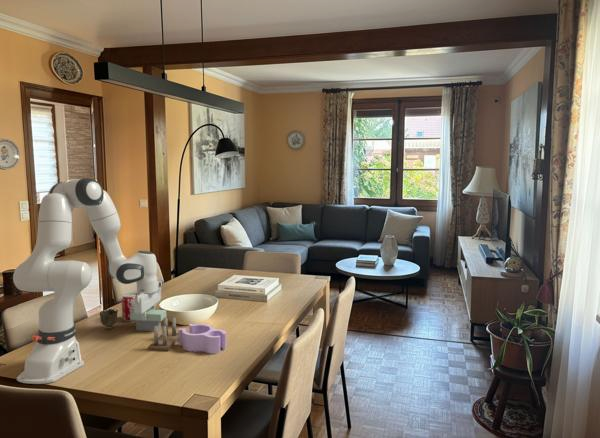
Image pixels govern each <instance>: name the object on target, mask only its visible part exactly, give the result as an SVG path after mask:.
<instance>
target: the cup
mask: <svg viewBox="0 0 600 438" xmlns="http://www.w3.org/2000/svg"><path fill="white" fill-rule="evenodd" d="M99 317H100V322H101V324H102V326H104V329H106V330H112V329H114V326H115V324H116V323H117V321H118V309H114V308H113V309H112V308H109V309H105V310H104V309H103V310H101V311H100V312H99Z"/></svg>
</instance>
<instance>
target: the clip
mask: <svg viewBox="0 0 600 438" xmlns="http://www.w3.org/2000/svg"><path fill="white" fill-rule="evenodd" d="M188 329H189V331H187V328H185V327H182V328H178V330H177V333H178V337H179V340H178V346H182V349H183V350H185V351H188V352H192V351H194V352H197V351H198V352H205V353H206V354H209V353H210V355H218V354H217V353H219V354H221V347H222V350H223V349H226V350H227V331H225V330H224V329H215V328H214V327H213V325H211V324H208V323H207V324H205V323H195V324H194V323H189V326H188ZM194 352H193V353H194Z"/></svg>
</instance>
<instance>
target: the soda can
mask: <svg viewBox="0 0 600 438" xmlns="http://www.w3.org/2000/svg"><path fill="white" fill-rule="evenodd" d="M136 296H137V294H136V293H125V294H122V298H121V313H122V320H123V321H125V322H128V323H129V322H134V321H135V320H130V313H131V312H133V311H134V299H135V297H136Z"/></svg>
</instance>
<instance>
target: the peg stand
mask: <svg viewBox="0 0 600 438" xmlns="http://www.w3.org/2000/svg"><path fill="white" fill-rule="evenodd" d="M168 319H169V318H168V317H167V316H166V317H165V318H164V319H163V326H161V332H162V333H161V334H160V335H159V331H158V326H154V331H153V342H152V343H151V344H150V345H149V346H148V351H151V352H152V351H156V352H169V351H170V350H171V348H172V347H173V346H174V345H176V344H177V343H178V342H179V337H178V332H177V321H176V320H177V319H176V317H171V332H169V326H168V325H169V324H168Z"/></svg>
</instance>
